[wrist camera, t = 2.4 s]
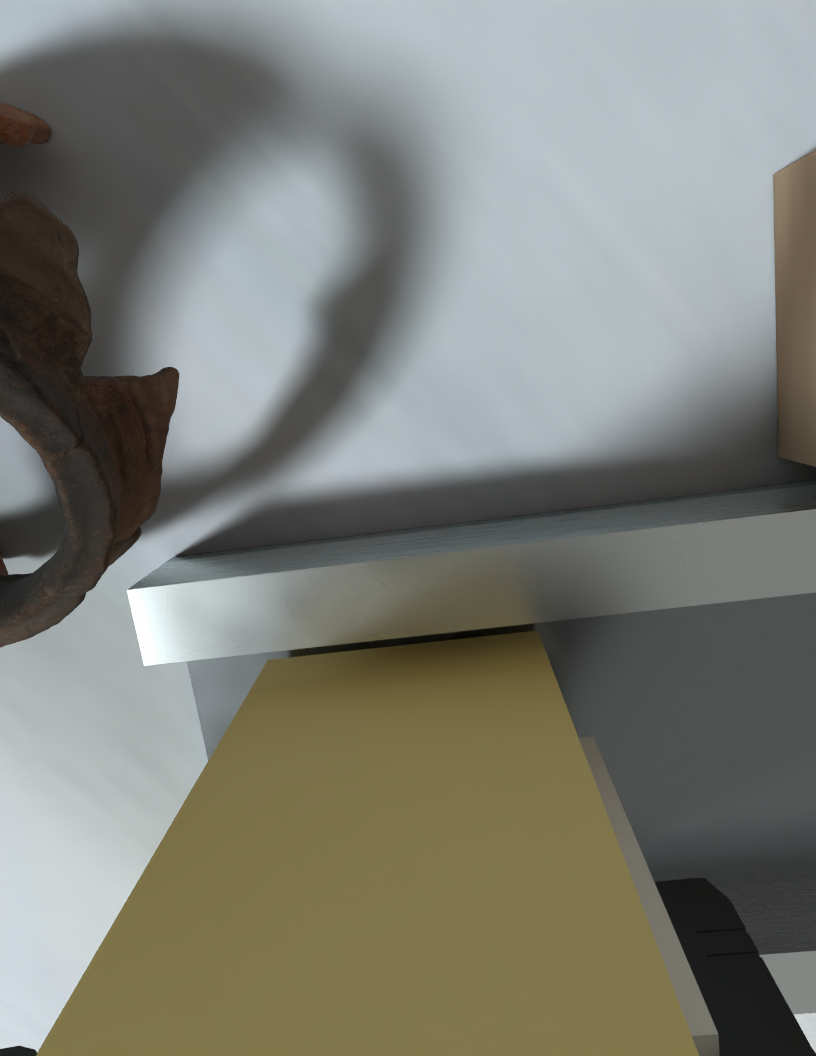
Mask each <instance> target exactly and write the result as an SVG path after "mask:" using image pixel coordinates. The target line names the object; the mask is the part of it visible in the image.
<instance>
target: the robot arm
mask: <svg viewBox="0 0 816 1056" xmlns="http://www.w3.org/2000/svg"><path fill="white" fill-rule="evenodd" d="M579 740H580V743H581V746H582V748H583V751H584V754H585V756H586V759H587V761H588V764H589V767H590V769H591V772H592V775H593V777H594V780H595V782H596V785H597V788H598V790H599V793H600V796H601V798H602V801H603V804H604V806H605V809H606V811H607V814H608V817H609V819H610V822H611V825H612V827H613V830H614V832H615V835H616V838H617V840H618V843H619V846H620V848H621V851H622V854H623V856H624V859H625V861H626V864H627V867H628V869H629V872H630V875H631V877H632V880H633V882H634V885H635V888H636V890H637V893H638V896H639V898H640V901H641V904H642V906H643V909H644V911H645V914H646V917H647V919H648V922H649V925H650V927H651V930H652V933H653V935H654V938H655V940H656V943H657V946H658V948H659V951H660V954H661V956H662V959H663V961H664V964H665V967H666V969H667V972H668V975H669V977H670V980H671V983H672V985H673V988H674V990H675V993H676V996H677V998H678V1001H679V1004H680V1006H681V1009H682V1011H683V1014H684V1017H685V1019H686V1022H687V1025H688V1027H689V1030H690V1033H691V1035H692V1038H693V1040H694V1043H695V1046H696V1048H697V1051H698V1054H699V1056H816V1053H815V1052H814V1050H813V1049H812V1047H811V1046H810V1044H809V1042H808V1040H807V1039H806V1037H805V1035H804V1033H803V1031H802V1029H801V1028H800V1026H799V1024H798V1022H797V1020H796V1019H795V1017H794V1015H793V1013H792V1011H791V1009H790V1008H789V1006H788V1004H787V1002H786V1000H785V999H784V997H783V995H782V993H781V991H780V989H779V988H778V986H777V984H776V982H775V980H774V979H773V977H772V975H771V973H770V971H769V969H768V968H767V966H766V964H765V962H764V960H763V959H762V957H760V956H759V952H758V949H757V948H756V946H755V944H754V942H753V940H752V938H751V937H750V935H749V933H747V932H746V928H745V926H744V924H743V922H742V920H741V918H740V917H739V915H738V913H737V911H736V909H735V908H734V906H733V904H732V902H731V900H730V899H729V898H727V897H726V896H725V895H724V894H723V893H722V892H721V891H719V890H718V889H717V888H716V887H715V886H714V885H712V884H711V883H710V882H709V881H708V880H707V879H706V878H704V877H703V878H691V879H679V880H667V881H655V882H654V880H653V878H652V875H651V873H650V870H649V868H648V866H647V863H646V861H645V859H644V856H643V854H642V851H641V849H640V847H639V844H638V842H637V840H636V837H635V835H634V832H633V830H632V828H631V825H630V823H629V821H628V818H627V816H626V813H625V811H624V809H623V806H622V804H621V802H620V799H619V797H618V794H617V792H616V790H615V787H614V785H613V783H612V780H611V778H610V775H609V773H608V771H607V768H606V766H605V764H604V761H603V759H602V756H601V754H600V752H599V749H598V747H597V745H596V742H595V740H594V737H584V738H579ZM36 1055H37V1052H36V1051H35V1050H34V1049H30V1048H26V1047H22V1046H16V1047H10V1048H4V1049H0V1056H36Z"/></svg>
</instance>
